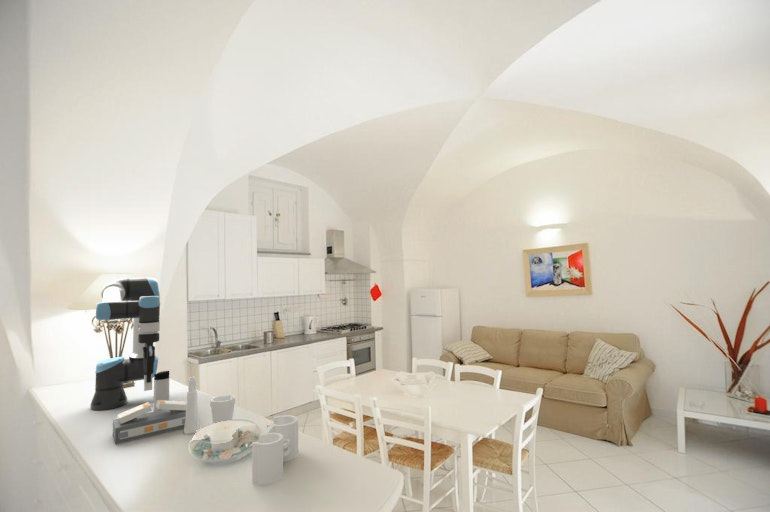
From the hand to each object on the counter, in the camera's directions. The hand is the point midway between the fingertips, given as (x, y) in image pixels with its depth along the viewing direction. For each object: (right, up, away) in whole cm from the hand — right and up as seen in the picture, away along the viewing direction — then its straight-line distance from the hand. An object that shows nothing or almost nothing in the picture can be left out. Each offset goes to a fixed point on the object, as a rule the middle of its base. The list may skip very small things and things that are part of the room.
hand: (148, 389), depth 158 cm
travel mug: (-6, -19, +20) cm, 28 cm away
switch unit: (+2, -17, +1) cm, 17 cm away
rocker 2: (+7, -10, +5) cm, 13 cm away
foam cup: (+32, -17, -1) cm, 36 cm away
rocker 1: (-3, -9, -3) cm, 10 cm away
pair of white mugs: (+63, -14, -32) cm, 72 cm away
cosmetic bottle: (+19, -17, -1) cm, 25 cm away
